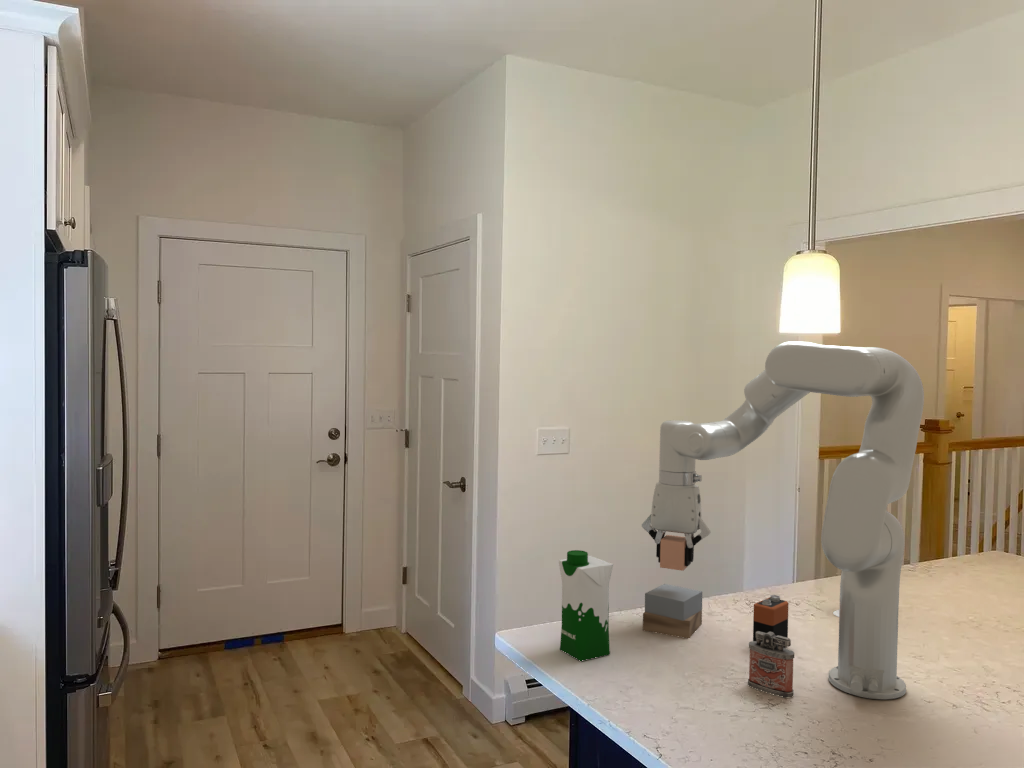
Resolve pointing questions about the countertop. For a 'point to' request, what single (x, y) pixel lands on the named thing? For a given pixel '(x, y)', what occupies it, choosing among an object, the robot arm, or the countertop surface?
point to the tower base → (672, 624)
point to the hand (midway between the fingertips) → (674, 562)
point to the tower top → (673, 601)
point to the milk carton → (585, 605)
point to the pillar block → (673, 552)
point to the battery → (771, 616)
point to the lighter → (771, 664)
